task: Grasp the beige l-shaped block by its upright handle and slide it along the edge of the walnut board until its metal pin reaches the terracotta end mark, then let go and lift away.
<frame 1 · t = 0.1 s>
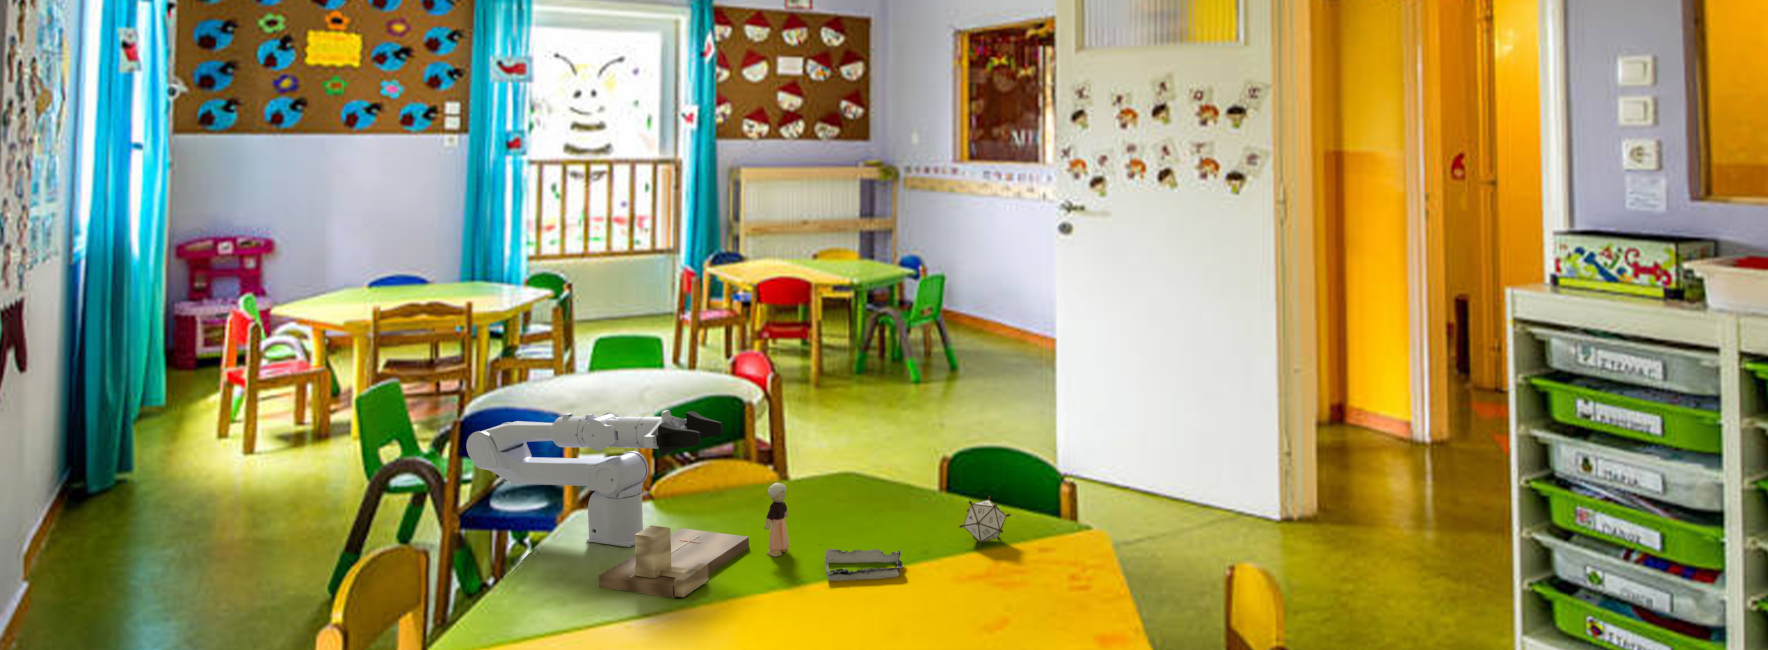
hand: (711, 433, 204), 22 cm above the table, tool horizontal, fingers open, 7 cm apart
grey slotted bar: (863, 574, 197), on the table
board: (677, 566, 199), on the table
grandmother figurine: (778, 552, 207), on the table
game die: (984, 542, 212), on the table
beige l-shaped block: (666, 558, 189), point 5 cm above the table, slide at 0.0 cm
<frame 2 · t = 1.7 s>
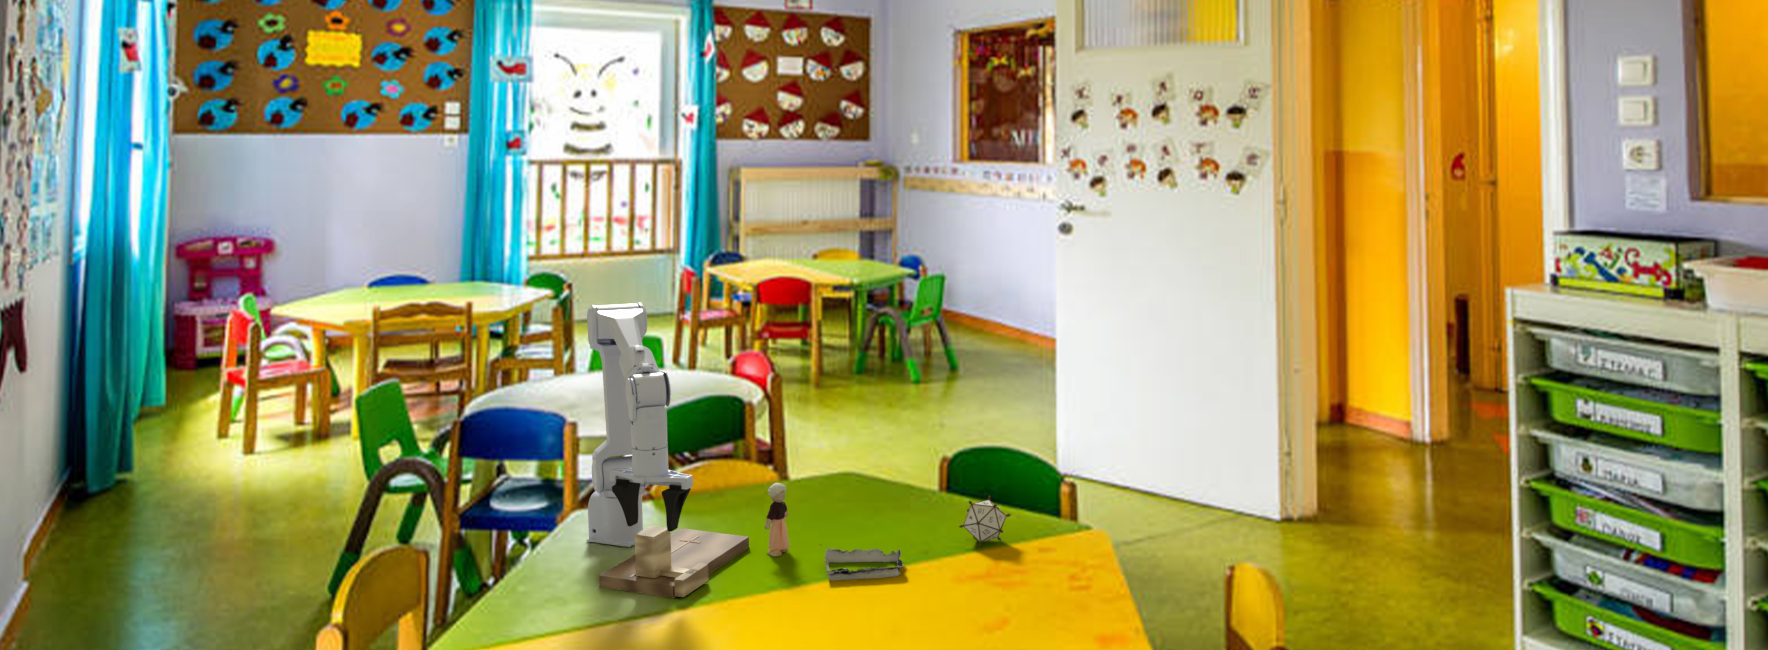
hand: (652, 526, 189), 10 cm above the table, tool pointing down, fingers open, 7 cm apart
nothing on the table moved.
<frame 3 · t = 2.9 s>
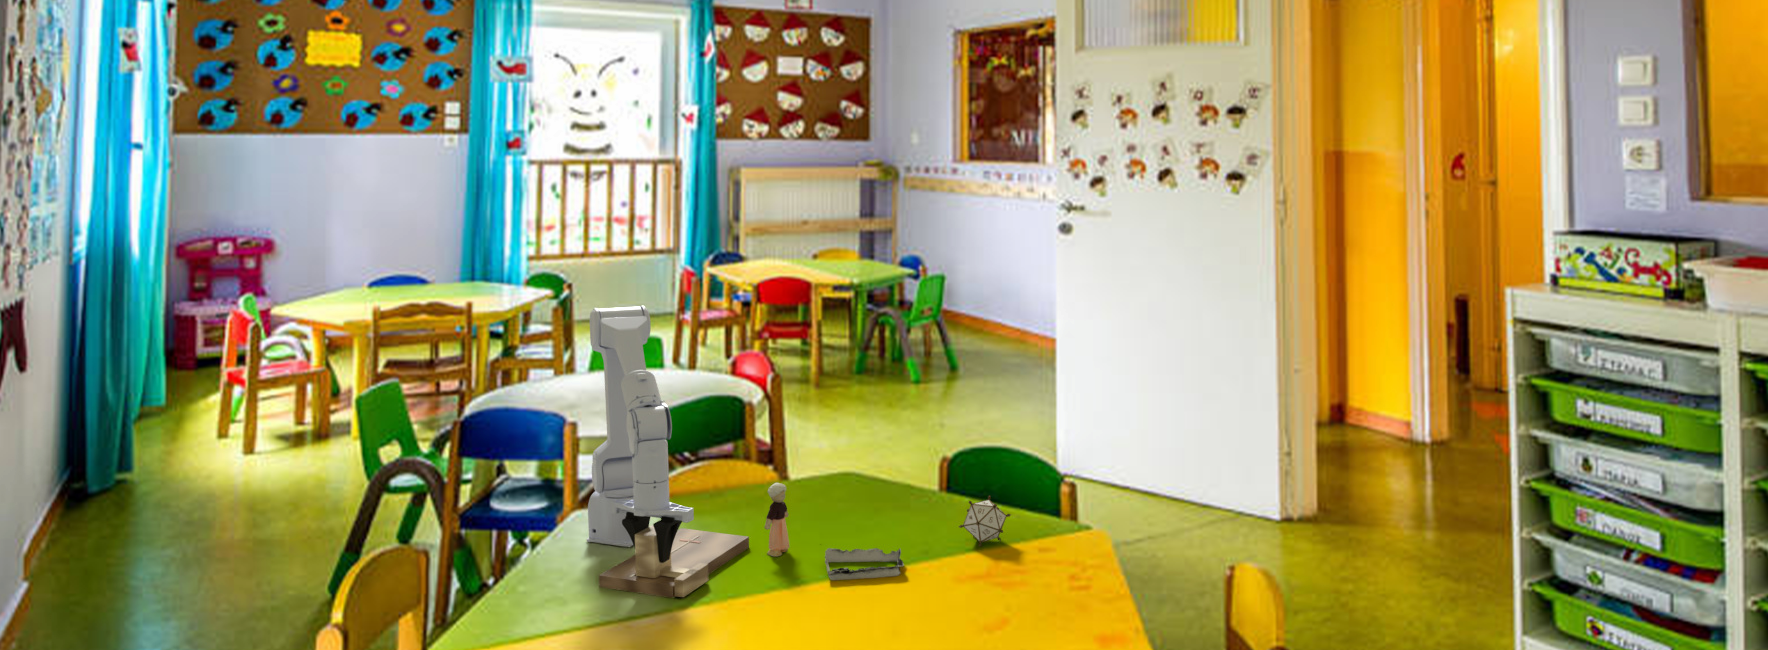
hand: (653, 559, 190), 4 cm above the table, tool pointing down, fingers closed on beige l-shaped block, 4 cm apart
beige l-shaped block: (666, 558, 189), point 5 cm above the table, slide at 0.0 cm, touching gripper
everything else where it was.
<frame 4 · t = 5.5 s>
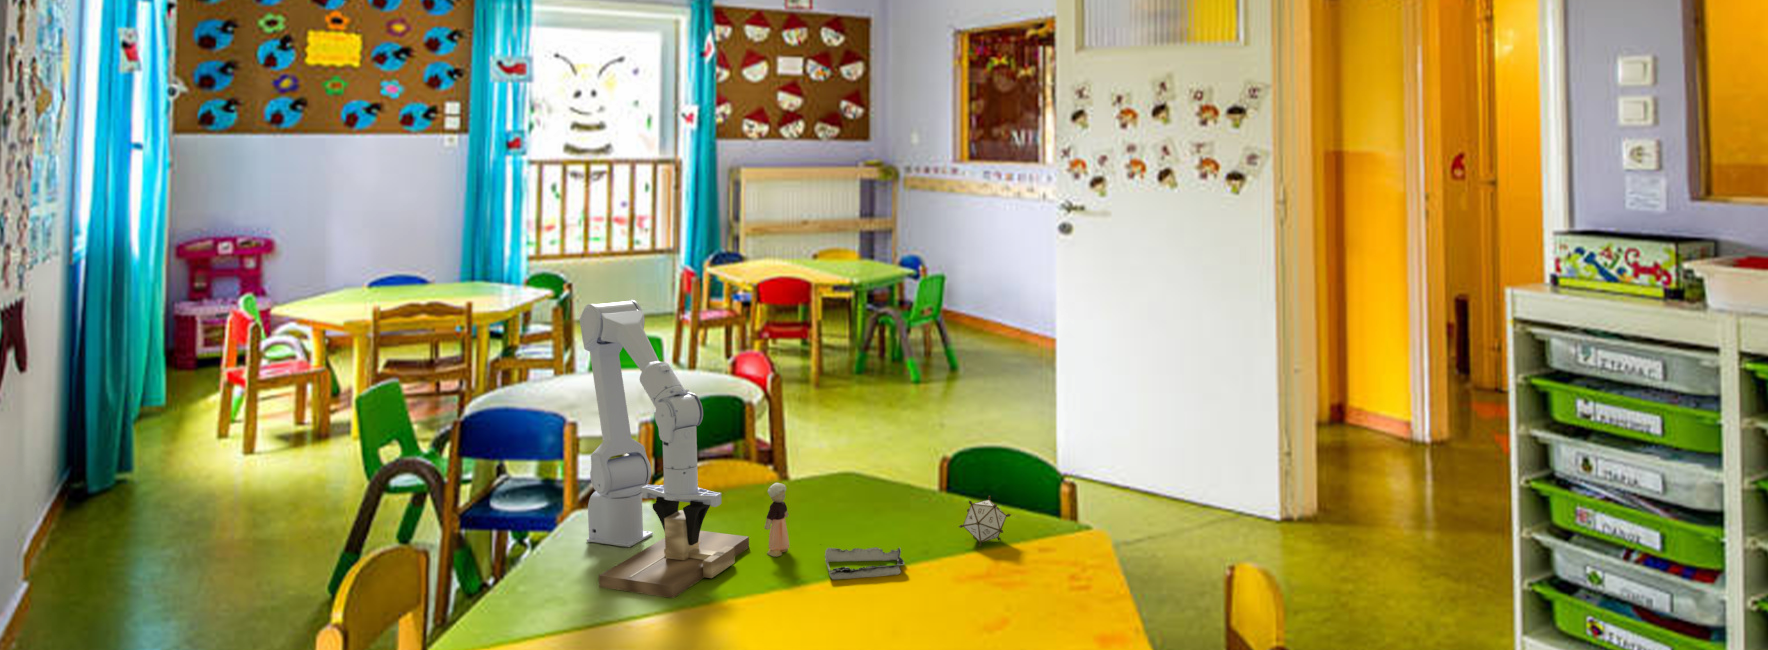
hand: (682, 541, 198), 4 cm above the table, tool pointing down, fingers closed on beige l-shaped block, 4 cm apart
beige l-shaped block: (694, 541, 197), point 5 cm above the table, slide at 9.0 cm, touching gripper
everything else where it was.
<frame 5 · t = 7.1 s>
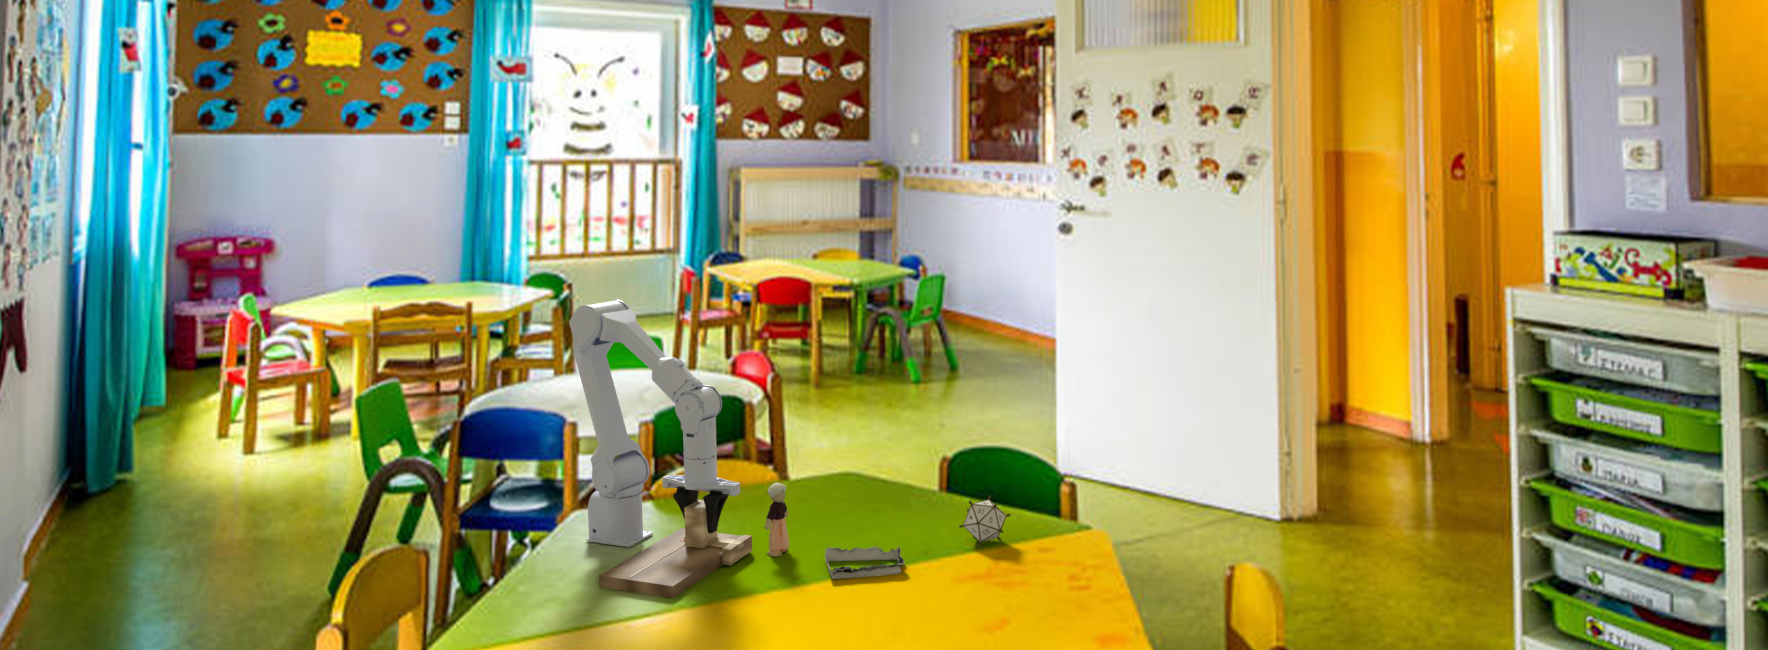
hand: (702, 530, 205), 4 cm above the table, tool pointing down, fingers closed on beige l-shaped block, 4 cm apart
beige l-shaped block: (713, 530, 203), point 5 cm above the table, slide at 15.6 cm, touching gripper
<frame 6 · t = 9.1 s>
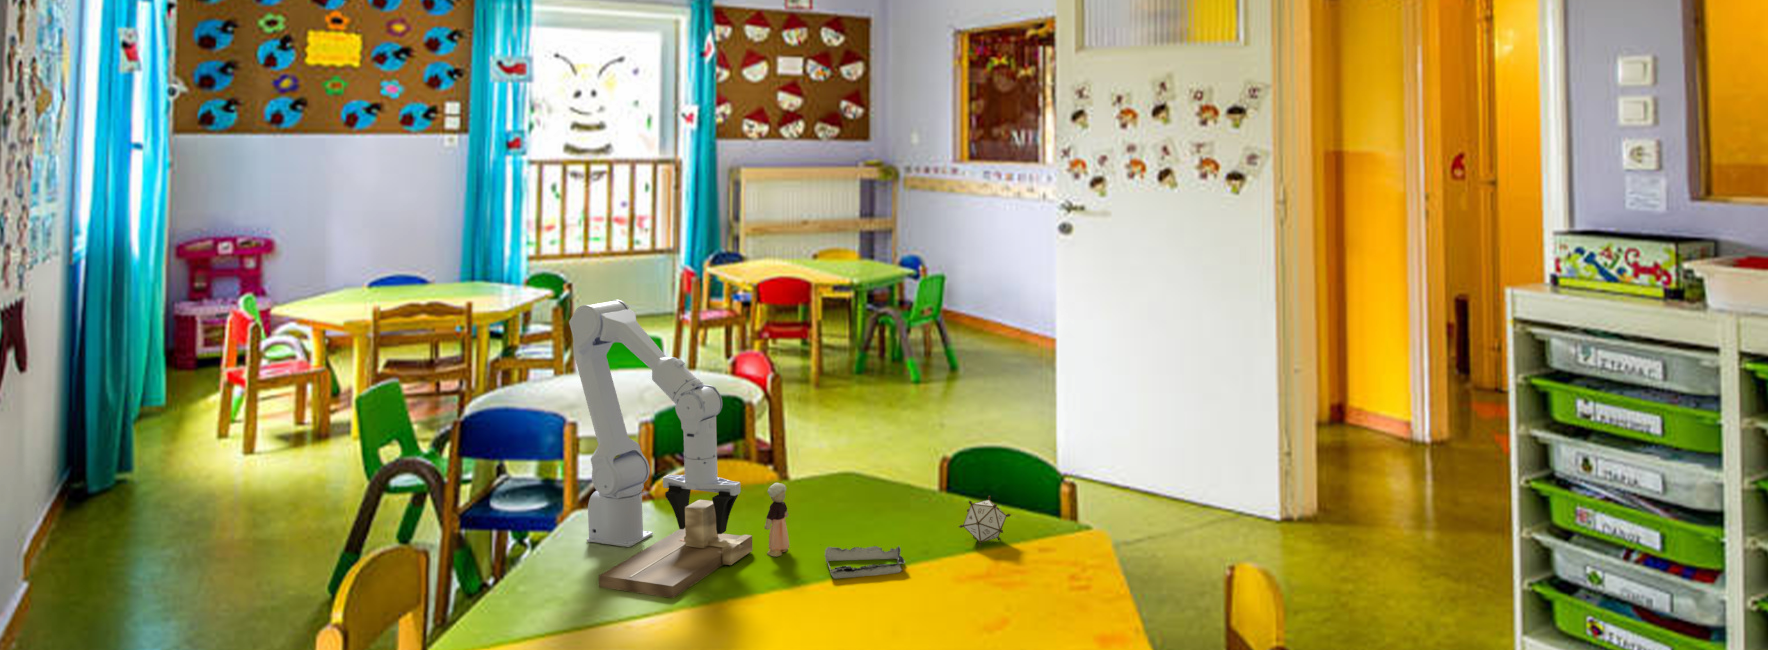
hand: (702, 529, 205), 4 cm above the table, tool pointing down, fingers open, 7 cm apart
beige l-shaped block: (713, 529, 204), point 5 cm above the table, slide at 15.7 cm
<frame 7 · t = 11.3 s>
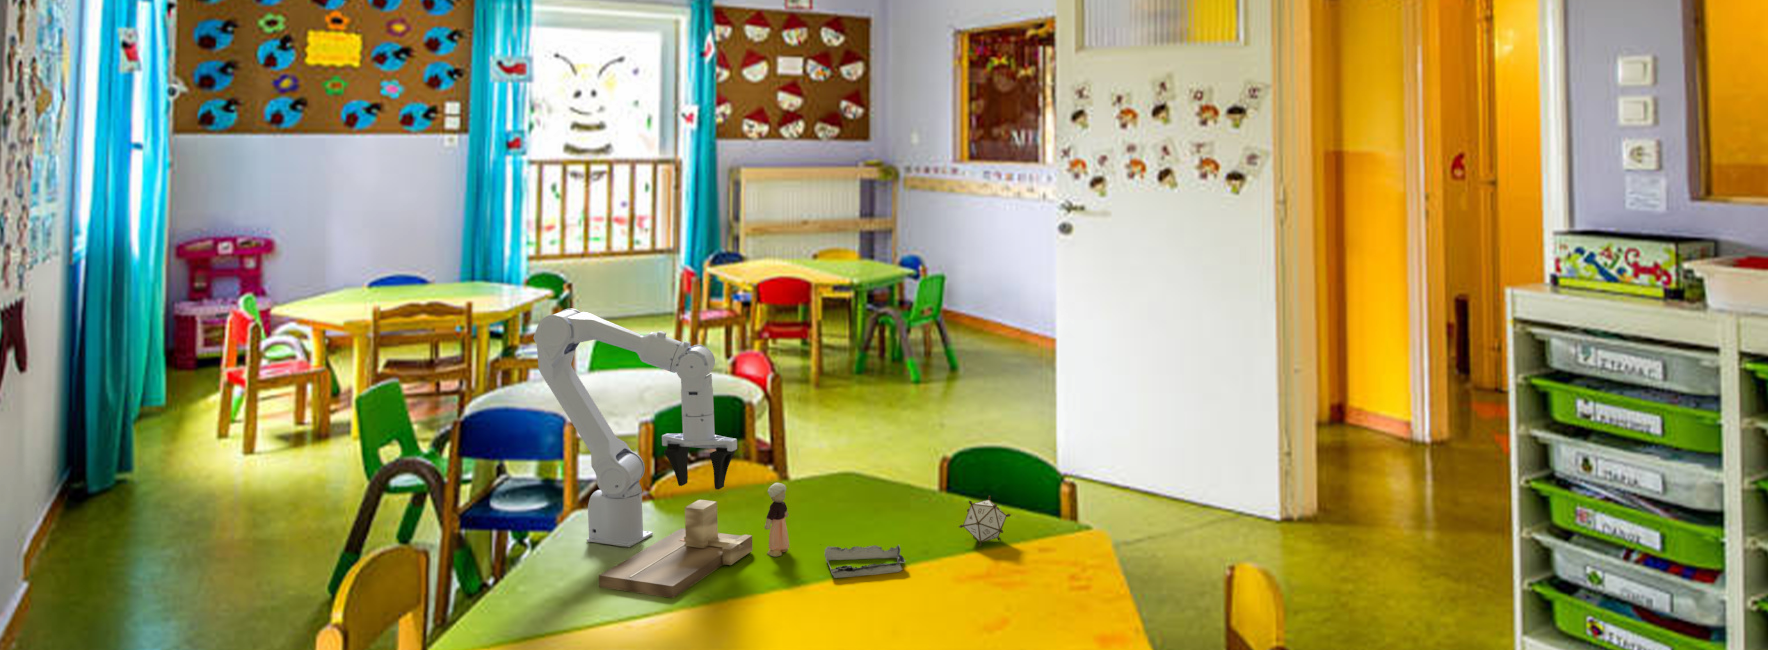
hand: (701, 486, 211), 10 cm above the table, tool pointing down, fingers open, 7 cm apart
at the end: beige l-shaped block slide at 15.7 cm; the gripper is holding nothing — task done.
